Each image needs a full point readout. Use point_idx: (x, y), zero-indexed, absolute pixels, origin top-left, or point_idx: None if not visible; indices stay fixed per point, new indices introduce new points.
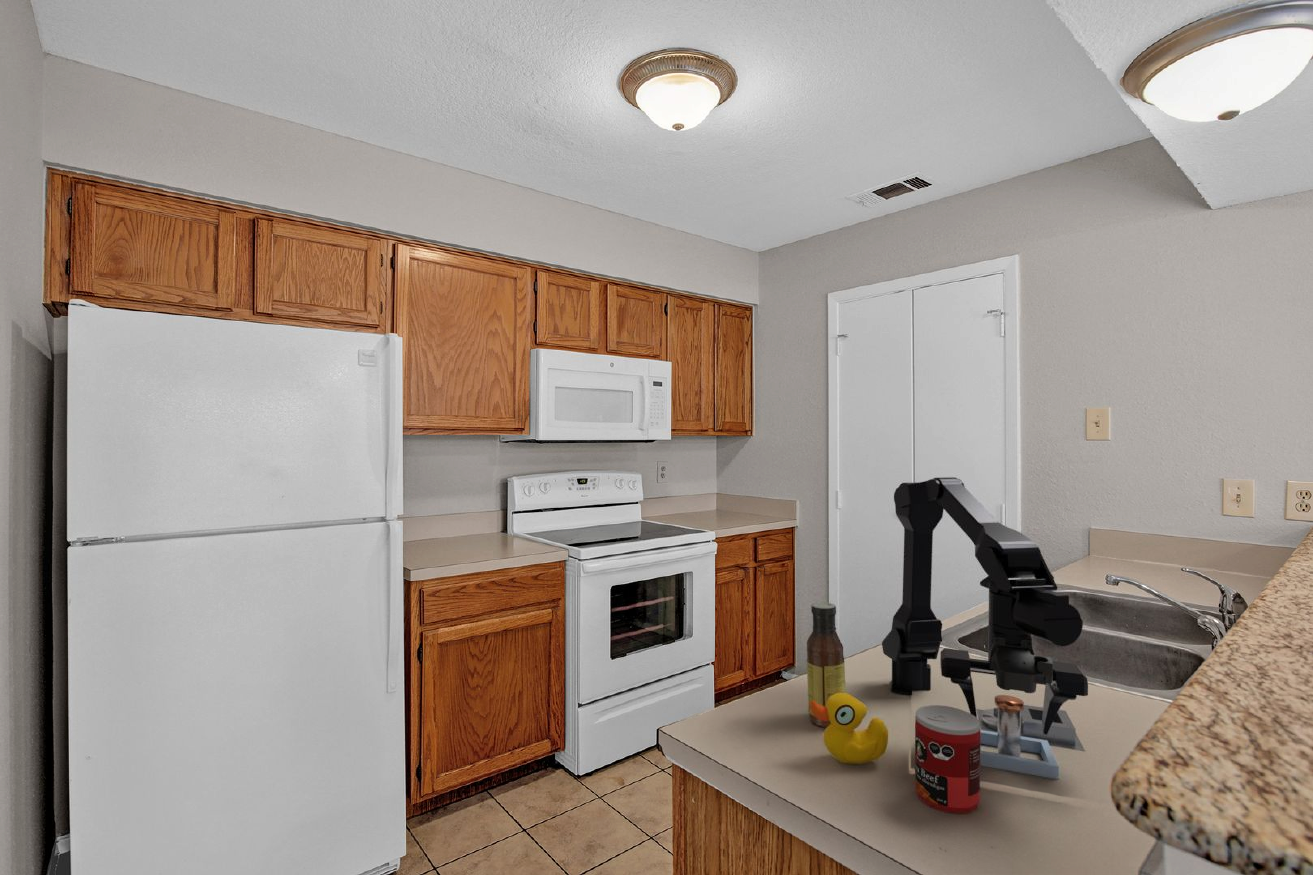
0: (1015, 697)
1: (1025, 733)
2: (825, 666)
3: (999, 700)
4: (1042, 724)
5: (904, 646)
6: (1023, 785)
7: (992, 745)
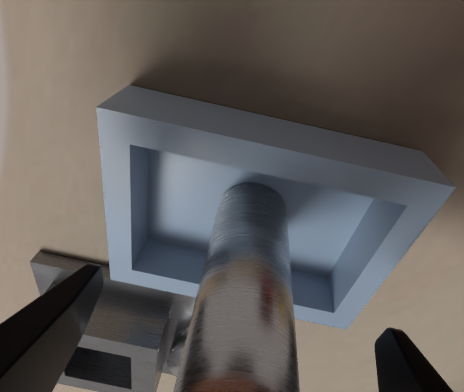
0: None
1: (163, 315)
2: None
3: None
4: (89, 314)
5: None
6: (263, 53)
7: None
